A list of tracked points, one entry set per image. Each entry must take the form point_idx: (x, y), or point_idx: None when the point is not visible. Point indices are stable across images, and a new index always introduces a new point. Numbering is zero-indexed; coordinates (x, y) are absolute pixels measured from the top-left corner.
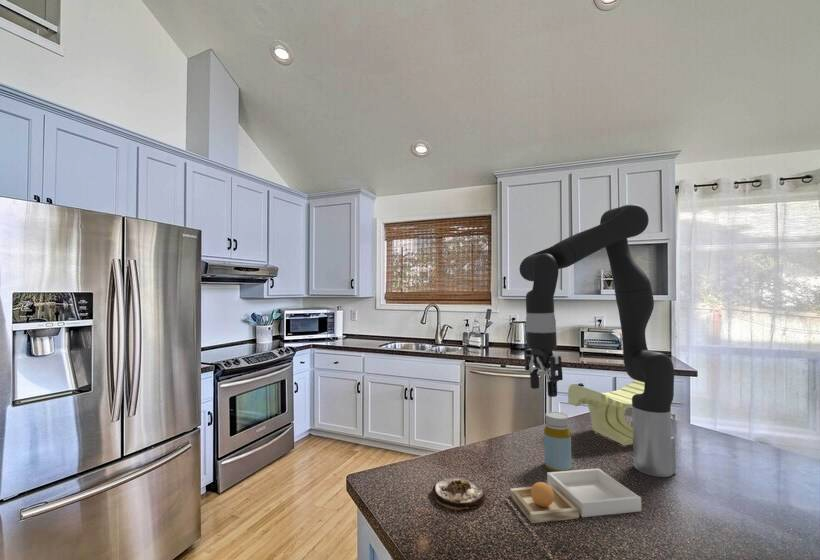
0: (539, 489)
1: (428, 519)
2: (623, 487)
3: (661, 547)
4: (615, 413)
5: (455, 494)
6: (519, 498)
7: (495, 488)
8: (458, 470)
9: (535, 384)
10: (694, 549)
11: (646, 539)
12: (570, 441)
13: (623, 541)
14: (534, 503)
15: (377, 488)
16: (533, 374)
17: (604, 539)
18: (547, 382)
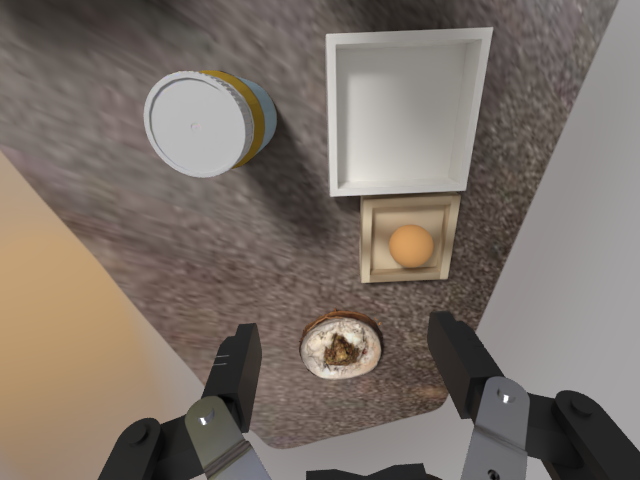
0: (424, 262)
1: (388, 383)
2: (438, 38)
3: (565, 86)
4: None
5: (357, 359)
6: (397, 279)
7: (322, 285)
8: None
9: (254, 355)
10: (599, 18)
11: (538, 98)
12: (249, 85)
13: (525, 147)
14: None
15: (300, 427)
16: (238, 422)
17: (508, 177)
18: (462, 413)
